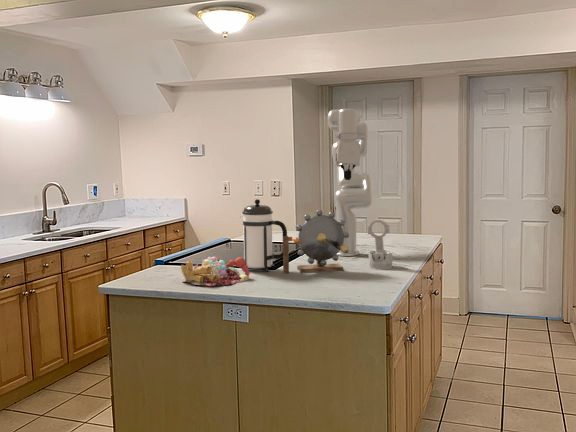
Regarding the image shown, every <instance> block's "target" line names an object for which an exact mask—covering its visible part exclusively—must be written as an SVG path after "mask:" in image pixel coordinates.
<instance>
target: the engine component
mask: <svg viewBox="0 0 576 432" xmlns="http://www.w3.org/2000/svg"><path fill="white" fill-rule="evenodd" d="M375 223H380V224H382V225H383V228H384V231H383V233H382V234H380V235H379V234H378V235H377V234H375V233H374V232H373V226H374V224H375ZM390 230H391V229H390V225H389V224H387V222H385V220H383V219H379V218H377V219H374V220H373V221H371V222H370V223H369V225H368V226H366V232H367V235H370V236H371V237H372V238H374V241H375V242H374V243H375V250H369V251H368V268H370V269H374V270H389V269H392V268H393V251H388V252H387V250H385V249H384V248H385V247H384V237H385V236H386V235H387V234H390Z"/></svg>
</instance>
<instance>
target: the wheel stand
mask: <svg viewBox="0 0 576 432" xmlns="http://www.w3.org/2000/svg"><path fill="white" fill-rule="evenodd" d="M293 239H294V237H293V236H288V235H287V236H283V235H282V251H283V257H282V261H283V262H282V264H283V265H282V272H283V274H289V273H290V257H289V256H290V254H289V253H290V252H289V251H290V249H289V248H290V247H289V246H290V245H289V244H290V243H289V242H293ZM296 269H297V271H299V272H300V273H305V274H306V273H321V272H322V273H323V272H339V271H340V272H342V271H344V266H342V265H341V264H339V263H327V264H326V265H325V266H322V265H321V264H320V261H318V260H316V264H303V265H301V264H300V265H299V264H298V265H296Z"/></svg>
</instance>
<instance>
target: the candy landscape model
mask: <svg viewBox="0 0 576 432" xmlns="http://www.w3.org/2000/svg"><path fill="white" fill-rule="evenodd" d="M235 266H236V267H235ZM237 268H241V271H243V272H244V274H242V273H240V272H239V270H238V269H237ZM180 270H181V273H182V275H183V277H184V279H182V280H181V281H182V282H183V283H191V284H192V285H198V286H208V287H211V286H218V287H219V286H221V285H224V286H225V285H226V286H229V285H233V284H235V283H242V282H245V281H249V279H250V271H249V269H248V266H247V265H245V260H244V257H242V256H240V257H237V258H236V259H235V260H234V259H230V260H229V262H228V263H226V261H225V260H223V259H219V258H218V257H217V256H212V257H211V256H208V257H207V258H205V259H202V260H201V265H199V264H198V263H196V264H195V265H194V263H193V260H186V261H185V265H184V264H181V265H180Z"/></svg>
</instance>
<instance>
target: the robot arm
mask: <svg viewBox="0 0 576 432" xmlns="http://www.w3.org/2000/svg"><path fill="white" fill-rule="evenodd" d="M327 125H328V128H329V129H330V130H331V131H333V132H336V133H337V134H336V135H335V138H336V139H337V141H336V142H334V143H333V144H332V146H331V156H332V159H333V164H334V165H335V169H336V172H337V173H336V174H337V177H336V179H337V180H336V181H337V188H338V189H337V190H336V191H335V193H334V205H335V211H336V212H335V217H336V221H337V222H338V221H339V220H343V221H344V222H345V224H344V226H341V227H342V229H343V232H347V233H348V234H349V237H348V238H344V242H343V244H344V245H345V246H347V247H348V248H349V252H348V253H344V252H342V251H339V252H338V253H337V254H336V255H337V256H338V257H354V256H355V257H356V256H359V255H360V251H359V250H357V217H356V214H355V213H354V212H353V211H352V209H353V210H354V209H355V210H356V209H368V208H370V207H371V206H372V201H373V200H372V185H371V177H370V174H368V173H367V172H363V171H362V172H361V171H355V167H360V165H361V164H360V163H361V158H364V157H366V155H367V153H368V139H369V138H368V137H369V136H368V135H369V133H368V125H367V124H366V123H365V121H361V114H360V112H359V111H358V110H357V109H354V108H341V109H331V110H330V111H329V112H328V115H327Z"/></svg>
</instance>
